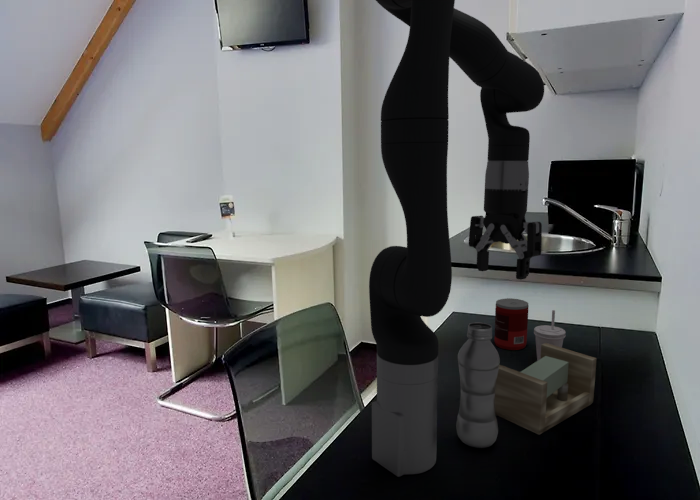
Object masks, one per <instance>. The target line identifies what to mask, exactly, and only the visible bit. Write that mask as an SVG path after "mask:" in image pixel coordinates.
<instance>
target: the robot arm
mask: <svg viewBox="0 0 700 500" xmlns="http://www.w3.org/2000/svg"><path fill="white" fill-rule="evenodd" d="M375 1H376V3H377V4H378V5H380V6H381V7H382V8H383V9H384V10H386V12H388V13H390V14H391V15H393V16H394V17H395V18H397V19H398V20H400V21H401V22H403V23H404V24H406V25H407V26H408V27H409V32H408V37H407V42H406V44H405V48H404V51H403V54H402V56H401V59H400V61H399V63H398V65H397V68H396V70H395V72H394V74H393V76H392V77H391V78H392V79H391V80H390V83H389V85H388V86H387V88H386V89H387V90H386V92H385V94H384V98H383V100H382V104H381V109H380V150H381V151H380V152H381V159H382V163H383V167H384V169H385V172H386V174H387V176H388V179H389V182H390V184H391V186H392V188H393V190H394V192H395V194H396V196H397V199H398V201H399V204H400V206H401V208H402V212H403V216H404V221H405V227H406V246H401V245H390V246H388V247H385V248H384V249H382V250H380V251H379V253H377V255H376V257H375V258H374V261H373V262H372V266H371V269H370V272H369V280H368V281H369V282H368V294H369V296H368V297H369V310H370V311H369V313H370V328H371V333H372V336H373V340H374V341H375V345H376V400H374V401H373V402H372V403H371V459H372V460H373V461H374V462H376V463H378V464H379V465H380V466H382V467H383V468H385V469H386V470H387V471H389V472H390V473H392V474H393V475H395V476H396V477H398V478H400V477H402V476H404V475H418V474H423V473H425V472H427V471H429V470H431V469H432V468H433V467H434V466H435V464H436V463H437V445H438V444H437V441H438V437H437V434H438V432H437V431H438V384H439V383H438V380H439V379H438V378H439V377H438V375H439V373H438V372H439V339H438V336H437V334H436V333H435V332H434V331H433V330H432V329H431V328H430V326H428V325H427V324H426V323H425V321H424V320H423V319H422V317H425V318H428V317H429V318H430V317H434V316H436V315H438V314H439V313H440V312H441V311H442V310H443V309H444V307H445V306H446V304H447V302H448V300H449V297H450V294H451V290H452V280H453V272H452V271H453V270H452V269H453V266H452V253H451V244H450V231H449V217H448V154H449V153H448V150H449V123H450V122H449V118H450V117H449V76H450V59H451V60H452V61H453V62H454V63H455V64H456V65H457V66H458V67H459V68H460V70H461V71H462V72H463V73H464V74H465V75H466V76H467V77H468V78H469V79H470V80H471V82H472V83H473V84H475V85H476V86H478V87H479V88H480V93H479V94H480V95H479V96H480V105H481V109H482V113H483V118H484V122H485V128H486V132H487V133H486V134H487V140H488V142H487V143H488V144H487V162H486V169H485V176H484V192H483V193H484V196H483V197H484V198H483V199H484V200H483V211H484V212H485V216H483V215H473V216H471V217H470V223H469V224H470V225H469V233H468V235H469V236H468V246H469V248H473V249H475V251H476V268H477V270H478V272H485V271H488V270H489V263H490V262H489V259H490V250H489V249H490V248H491V247H492V245H493V244H494V243H502V244H507V245H508V244H509V246H510V247H511V248H512V249H513V250H514V251H515V254H516V255H517V257H518V258H516V273H515V278H516V280H526V279H527V277H529V275H530V264H531V259H532V258H533V257H539V256H541V254H542V245H543V244H542V239H543V238H542V236H543V235H542V231H543V229H542V226H543V225H542V222H541V221H532V222H531V221H528V222H527V221H526V213H527V211H528V198H529V197H528V196H529V180H530V170H529V159H530V158H529V156H530V142H531V141H530V138H531V136H530V131H529V130H528V129H527V128H526V127H523V126H519V125H512V124H510V121H509V120H508V116H507V114H512V113H524V112H530V111H532V110H535V109H537V107H538V106H540V104H541V102H542V101H543V99H544V95H545V84H544V81H543V78H542V75H541V74H540V73H539V72H538V70H537V69H536V68H535V67H534V66H533V65H531V64H530V63H529V62H527V61H526V60H524V59H522V58H521V57H519V56H517V55H516V54H515V53H512V52H510V51H509V50H508V49H507V47H506V46H505V45H504V43H503V42H502V41H501V39H499V37H498V35H496V34H495V32H494V31H493V30H492V29H491V28H490V27H489V26H488V25H487V24H485V23H484V22H483V21H481V20H479V19H477V18H476V17H474V16H472V15H470V14H467V13H465V12H463V11H461V10H459V9H457V8H455V3H456V0H375ZM484 228H485V229H486V230H485V231H484ZM524 232H525V234H527V236H526V237H525V235H524ZM488 250H489V251H488Z"/></svg>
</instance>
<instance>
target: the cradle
mask: <svg viewBox="0 0 700 500" xmlns="http://www.w3.org/2000/svg"><path fill="white" fill-rule="evenodd" d="M544 356H548V357H552V358H555V359H559V360H563V361H566V362H569V365H568V379H567V383H565V384H564V385H563V386H561V387H560V388H559V389H558V390H556V391H555V392H554V393H552V394H551V395H550V396H548V397H547V383H548V382H546V381H543V380H540V379H537V378H535V377H532V376H529V375H526V374H524V373H521V371H519V370H517V369H512V368H510V367H508V366H505V365H502V364H499V370H498V375H497V380H496V390H495V411H496V417H497V416H498V417H500V418H502V419H503V420H507V421H509V422H510V423H512V424H515V425H517V426H519V427H521V428H523V429H526V430H528V431H530V432H531V433H535V434H536V435H538V436H539V435H541V434H543V433H545V432H547V431H548V430H550V429H552V428H553V427H555V426H556V425H558V424H561V422H563V421H565V420H567V419H568V418H570V417H572V416H573V415H575V414H577V413H579V412H581V411H582V410H584V409H586V408H587V407H589V406H591V405H592V404H594V396H595V394H594V393H595V384H596V383H595V382H596V371H597V369H596V368H597V359H598V358H597V357H594V356H590V355H587V354H584V353H580V352H576V351H573V350H570V349H568V348H564V347H562V348H561V347H558V346H555V345H551V344H548V343H544V344H542V345H541V358H543V357H544Z"/></svg>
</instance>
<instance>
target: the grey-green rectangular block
mask: <svg viewBox="0 0 700 500" xmlns="http://www.w3.org/2000/svg"><path fill="white" fill-rule="evenodd" d="M568 365H569V362H566V361H563V360H559V359H555V358H552V357H548V356H544V357H543V358H541V359H540V360H538V361H537V360H536V361H535V362H534V363H532V364H531V365H529V366H527V367H526V368H525V369H523V370H521V371H520V372H521V373H524V374H526V375H529V376H532V377H535V378H537V379H540V380H543V381H546V382H548V383H547V397H548V396H550V395H551V394H552V393H554V392H555V391H556V390H558V389H559V388H560V387H561V386H563V385H564V384H565V383H567V379H568Z"/></svg>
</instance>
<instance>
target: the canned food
mask: <svg viewBox="0 0 700 500" xmlns="http://www.w3.org/2000/svg"><path fill="white" fill-rule="evenodd" d="M494 309H495V313H494V337H493V338H494V340H493V341H494V344H495V345H494V346H496V347H498V348H500V349H502V350H507V351H519V350H522V349H525V348H526V345H527V343H528V342H527V341H528V327H529V326H528V324H529V323H528V322H529V302H528V301H526V300H524V299H520V298H511V297H510V298H508V297H507V298H500V299H497V300H496V302H495V308H494Z"/></svg>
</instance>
